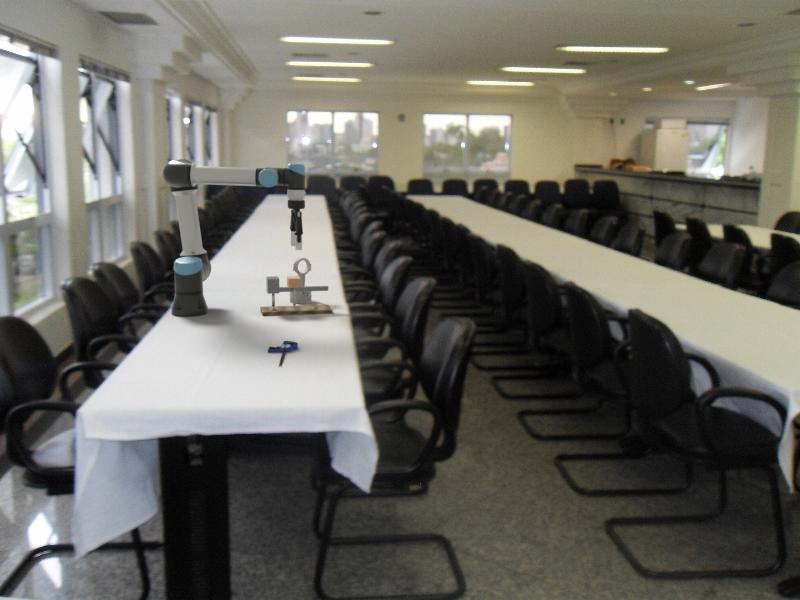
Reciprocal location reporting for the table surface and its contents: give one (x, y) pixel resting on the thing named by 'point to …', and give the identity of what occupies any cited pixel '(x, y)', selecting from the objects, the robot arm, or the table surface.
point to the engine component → (301, 283)
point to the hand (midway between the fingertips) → (296, 248)
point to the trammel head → (293, 285)
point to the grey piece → (273, 288)
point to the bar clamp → (284, 349)
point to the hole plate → (296, 310)
